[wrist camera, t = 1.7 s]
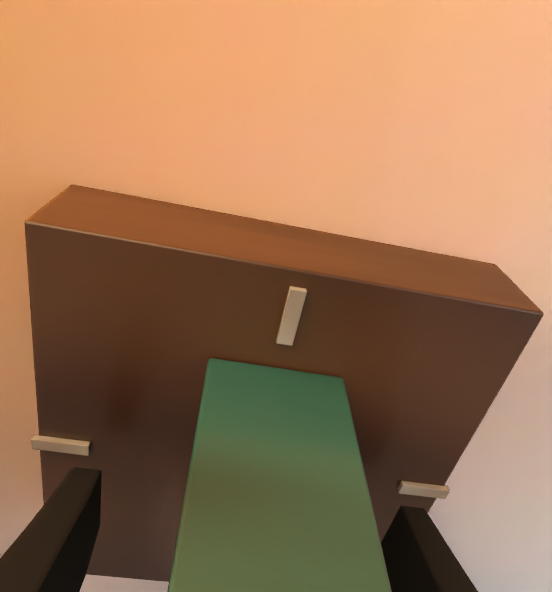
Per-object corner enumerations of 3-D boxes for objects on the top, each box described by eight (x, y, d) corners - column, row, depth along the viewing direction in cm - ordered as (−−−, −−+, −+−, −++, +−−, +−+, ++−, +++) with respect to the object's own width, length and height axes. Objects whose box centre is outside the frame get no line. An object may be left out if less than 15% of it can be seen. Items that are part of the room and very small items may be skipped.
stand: (366, 533, 18) (380, 606, 16) (72, 501, 17) (41, 576, 14) (499, 264, 12) (554, 318, 10) (66, 182, 11) (13, 222, 9)
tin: (282, 550, 14) (292, 870, 9) (178, 539, 14) (121, 865, 8) (344, 376, 11) (424, 723, 5) (208, 355, 10) (147, 707, 5)
